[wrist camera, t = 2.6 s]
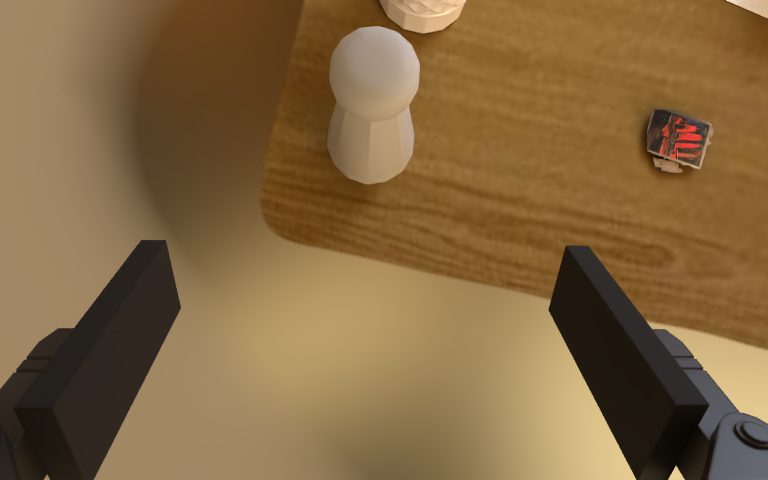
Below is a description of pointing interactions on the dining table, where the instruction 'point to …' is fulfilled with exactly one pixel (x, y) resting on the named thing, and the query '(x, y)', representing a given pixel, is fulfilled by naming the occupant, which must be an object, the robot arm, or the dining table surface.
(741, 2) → the napkin holder
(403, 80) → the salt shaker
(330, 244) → the dining table surface
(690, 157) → the matchbox
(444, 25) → the white cup
